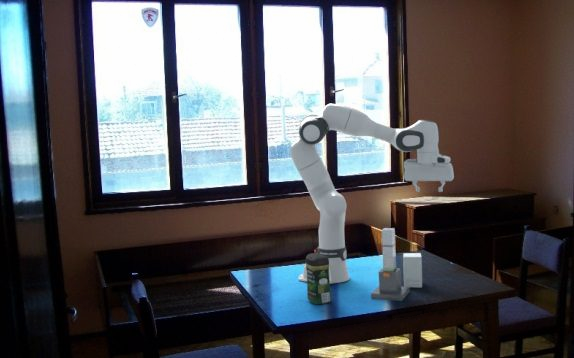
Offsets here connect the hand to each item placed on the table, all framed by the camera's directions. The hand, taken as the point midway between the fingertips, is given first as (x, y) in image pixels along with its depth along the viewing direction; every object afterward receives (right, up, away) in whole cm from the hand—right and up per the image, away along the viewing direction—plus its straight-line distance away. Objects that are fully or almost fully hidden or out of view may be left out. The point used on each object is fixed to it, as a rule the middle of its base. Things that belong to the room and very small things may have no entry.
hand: (429, 191), depth 251 cm
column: (-19, -32, -18) cm, 41 cm away
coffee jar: (-47, -42, -20) cm, 66 cm away
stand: (-19, -40, -17) cm, 47 cm away
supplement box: (-8, -39, -5) cm, 40 cm away
